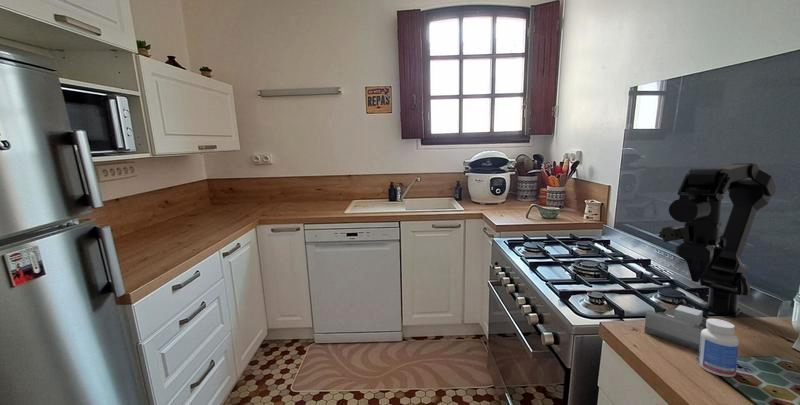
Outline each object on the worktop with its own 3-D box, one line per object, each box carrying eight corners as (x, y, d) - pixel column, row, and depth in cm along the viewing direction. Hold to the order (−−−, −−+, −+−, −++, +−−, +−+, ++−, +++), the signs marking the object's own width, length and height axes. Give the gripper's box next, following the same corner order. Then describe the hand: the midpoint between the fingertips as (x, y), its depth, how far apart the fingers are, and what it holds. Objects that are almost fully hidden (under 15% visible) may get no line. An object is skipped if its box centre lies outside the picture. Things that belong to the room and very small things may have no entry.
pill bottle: (744, 379, 61) (748, 331, 60) (710, 376, 62) (715, 328, 61) (721, 362, 67) (725, 317, 66) (691, 359, 68) (695, 315, 67)
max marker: (658, 316, 83) (658, 311, 83) (666, 318, 82) (666, 314, 82) (657, 317, 83) (657, 312, 83) (664, 319, 82) (665, 314, 81)
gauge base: (668, 313, 89) (670, 295, 88) (718, 327, 80) (720, 308, 80) (644, 332, 79) (645, 312, 78) (698, 350, 71) (700, 329, 70)
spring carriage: (665, 312, 86) (666, 301, 85) (701, 322, 80) (702, 311, 79) (659, 316, 83) (660, 305, 83) (696, 327, 77) (697, 315, 77)
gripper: (674, 210, 93) (671, 262, 95) (652, 219, 82) (649, 277, 84) (729, 214, 84) (724, 272, 86) (711, 224, 73) (707, 290, 75)
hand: (699, 277), depth 83 cm, fingers open, 9 cm apart
